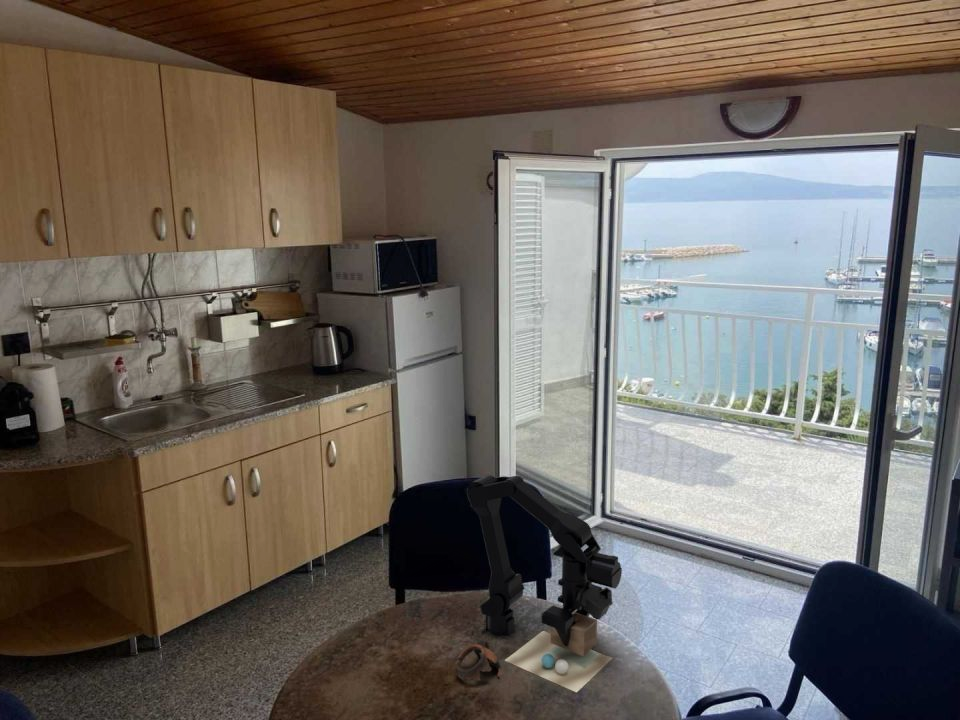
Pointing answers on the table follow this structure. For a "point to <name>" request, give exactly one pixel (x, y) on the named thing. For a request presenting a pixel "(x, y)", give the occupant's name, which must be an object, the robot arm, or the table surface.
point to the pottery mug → (484, 657)
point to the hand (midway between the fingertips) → (573, 639)
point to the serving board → (578, 665)
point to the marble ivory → (561, 666)
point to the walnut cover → (578, 635)
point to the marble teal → (548, 660)
